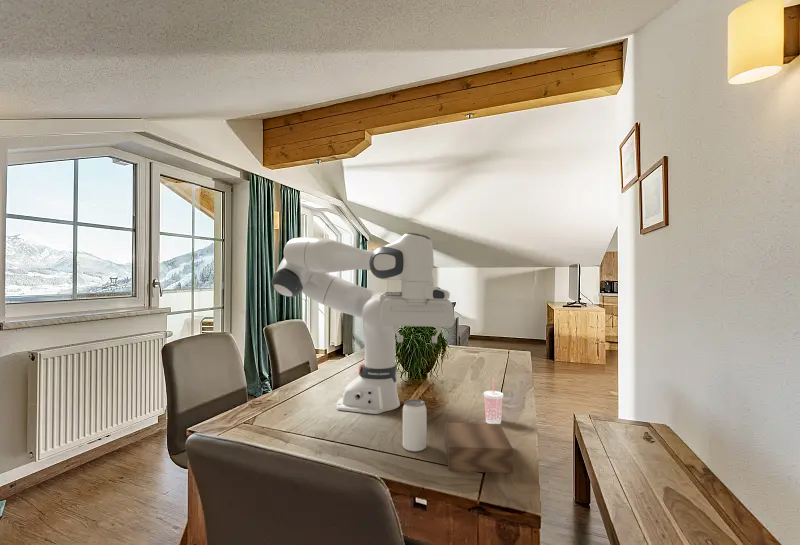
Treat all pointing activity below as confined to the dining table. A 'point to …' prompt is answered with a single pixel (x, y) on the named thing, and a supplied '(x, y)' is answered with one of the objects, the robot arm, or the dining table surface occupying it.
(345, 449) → the dining table surface
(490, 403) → the beverage cup
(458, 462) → the riser block
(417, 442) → the can
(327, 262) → the robot arm
